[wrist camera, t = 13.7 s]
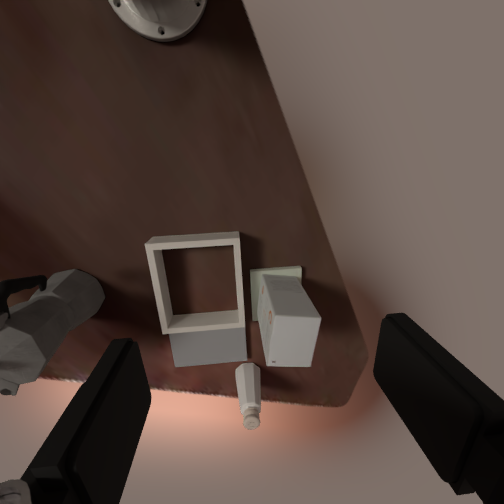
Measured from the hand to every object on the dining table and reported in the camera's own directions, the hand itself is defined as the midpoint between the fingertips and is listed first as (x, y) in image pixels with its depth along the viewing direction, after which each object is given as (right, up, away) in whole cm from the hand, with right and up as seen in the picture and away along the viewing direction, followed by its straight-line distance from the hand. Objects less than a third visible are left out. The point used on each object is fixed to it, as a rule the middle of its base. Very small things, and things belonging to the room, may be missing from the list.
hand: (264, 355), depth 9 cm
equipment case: (-9, -5, +35) cm, 37 cm away
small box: (+4, -4, +35) cm, 36 cm away
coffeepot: (-30, -2, +33) cm, 45 cm away
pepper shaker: (-1, -21, +42) cm, 47 cm away
